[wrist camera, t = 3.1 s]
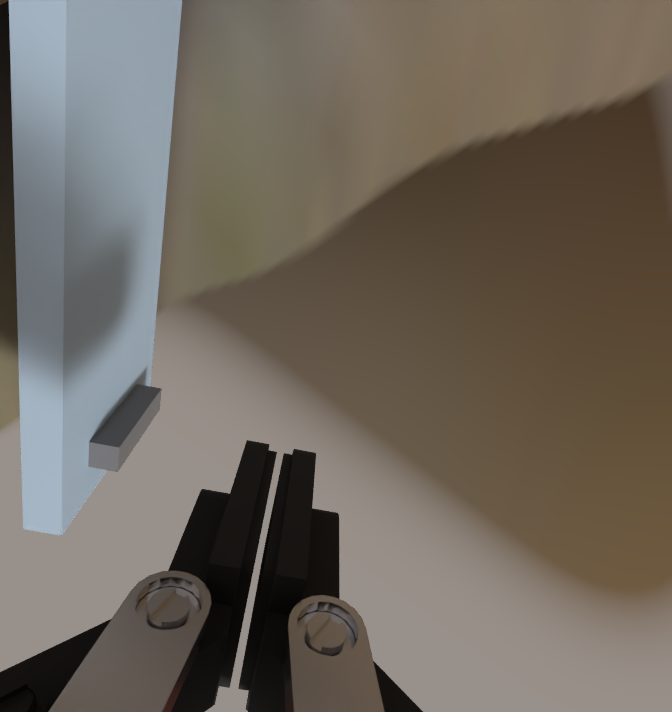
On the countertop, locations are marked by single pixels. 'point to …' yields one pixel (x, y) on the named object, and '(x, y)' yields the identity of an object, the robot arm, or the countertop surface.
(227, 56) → the countertop surface
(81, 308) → the cabinet door
